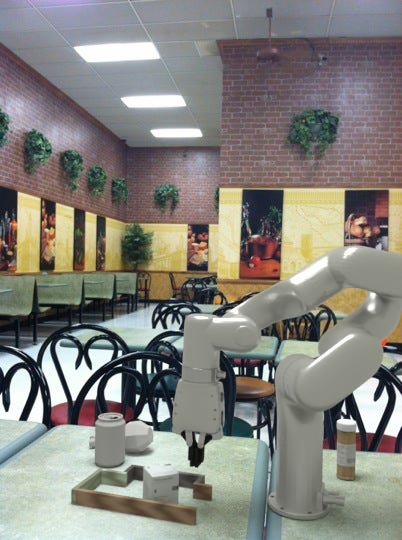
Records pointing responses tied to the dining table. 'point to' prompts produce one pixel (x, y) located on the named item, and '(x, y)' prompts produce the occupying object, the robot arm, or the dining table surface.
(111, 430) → the can
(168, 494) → the skincare box
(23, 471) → the dining table surface
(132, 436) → the chicken leg
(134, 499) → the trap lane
